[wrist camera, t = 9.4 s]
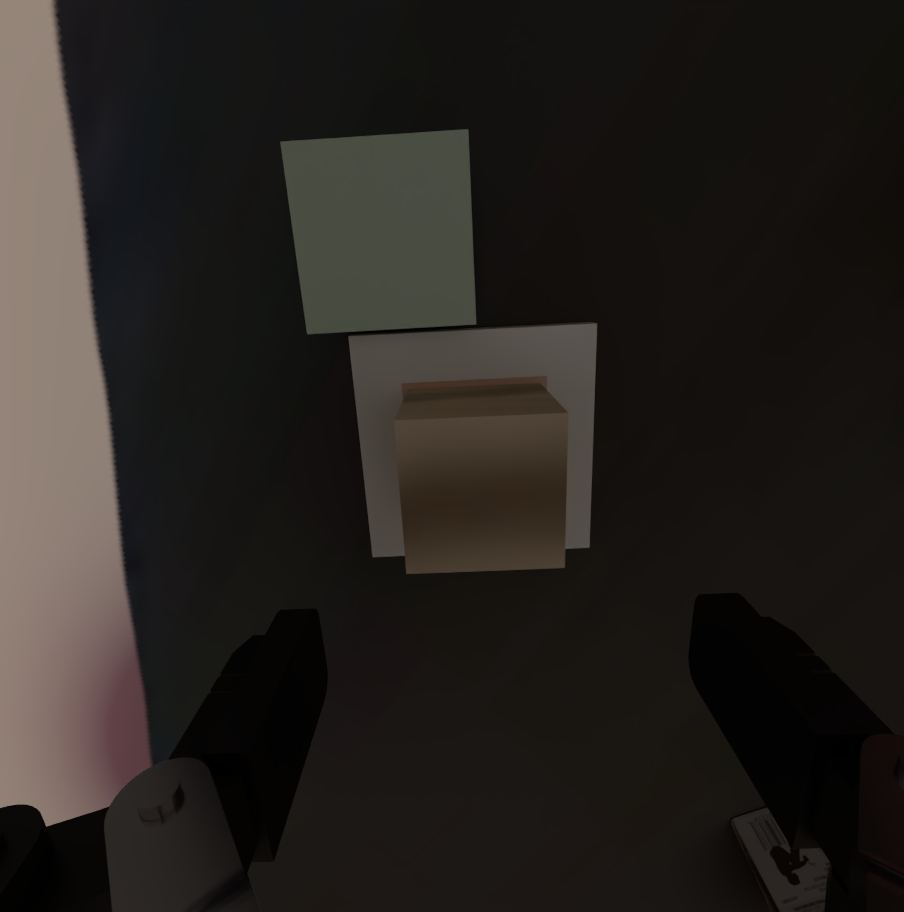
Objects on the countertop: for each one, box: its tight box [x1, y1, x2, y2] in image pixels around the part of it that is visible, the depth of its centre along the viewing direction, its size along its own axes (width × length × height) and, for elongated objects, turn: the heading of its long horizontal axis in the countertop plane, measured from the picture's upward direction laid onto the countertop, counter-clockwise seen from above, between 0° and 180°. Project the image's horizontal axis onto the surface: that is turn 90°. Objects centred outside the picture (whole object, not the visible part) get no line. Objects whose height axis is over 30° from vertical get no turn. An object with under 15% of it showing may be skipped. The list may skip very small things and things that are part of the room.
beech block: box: [394, 383, 568, 574], centre depth 21 cm, size 6×6×6 cm
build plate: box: [348, 322, 597, 557], centre depth 25 cm, size 11×11×1 cm
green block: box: [280, 129, 476, 334], centre depth 20 cm, size 6×6×6 cm
